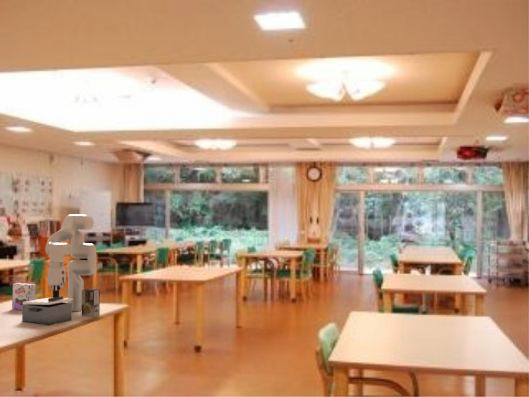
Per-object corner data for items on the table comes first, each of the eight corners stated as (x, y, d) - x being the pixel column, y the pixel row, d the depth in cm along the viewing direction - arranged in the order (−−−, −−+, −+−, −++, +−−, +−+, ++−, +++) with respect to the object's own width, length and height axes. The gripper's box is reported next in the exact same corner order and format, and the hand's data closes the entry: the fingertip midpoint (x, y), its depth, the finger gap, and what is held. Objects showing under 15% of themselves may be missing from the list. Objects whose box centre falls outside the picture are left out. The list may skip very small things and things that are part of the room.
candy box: (11, 309, 387) (12, 283, 387) (18, 308, 393) (19, 282, 393) (28, 311, 382) (29, 284, 382) (35, 309, 387) (35, 283, 388)
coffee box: (100, 315, 370) (100, 289, 370) (93, 317, 364) (94, 290, 364) (87, 314, 373) (87, 288, 373) (80, 316, 367) (81, 289, 367)
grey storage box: (48, 316, 364) (48, 299, 364) (74, 319, 356) (74, 302, 356) (19, 322, 344) (19, 305, 345) (45, 326, 336) (46, 308, 336)
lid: (47, 299, 363) (47, 295, 363) (72, 300, 354) (72, 295, 354) (22, 304, 346) (22, 299, 346) (49, 304, 337) (48, 299, 337)
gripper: (71, 265, 348) (70, 297, 348) (51, 263, 354) (51, 295, 354) (61, 266, 341) (61, 299, 341) (41, 264, 348) (41, 297, 347)
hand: (55, 297), depth 347 cm, fingers closed
